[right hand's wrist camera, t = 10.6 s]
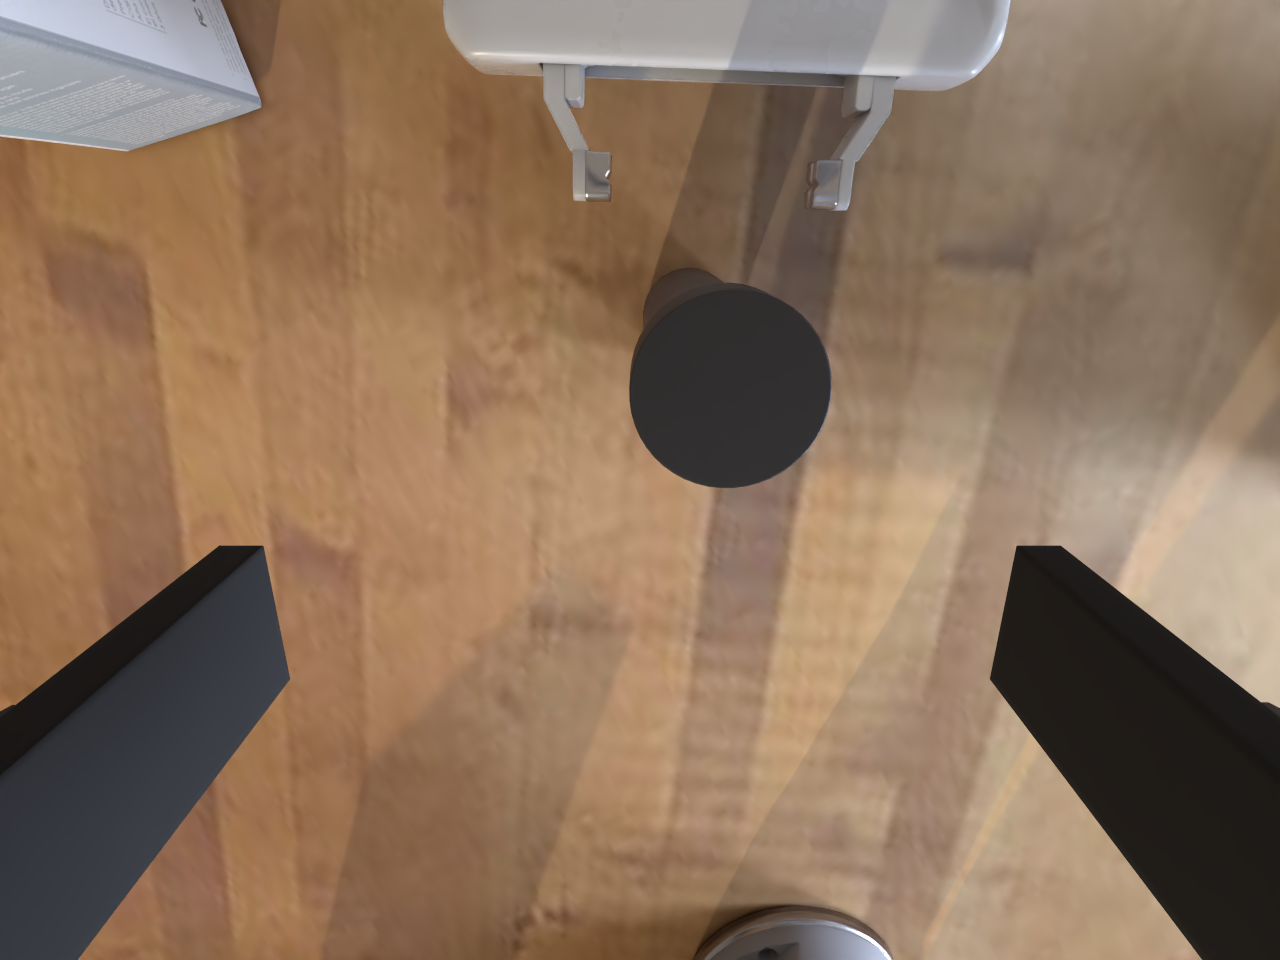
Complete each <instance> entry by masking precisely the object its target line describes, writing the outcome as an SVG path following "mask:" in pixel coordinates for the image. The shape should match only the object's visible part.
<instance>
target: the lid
mask: <svg viewBox="0 0 1280 960" xmlns="http://www.w3.org/2000/svg"><path fill="white" fill-rule="evenodd" d="M629 390H630V407H631V413H632V417H633V420H634V424H635V427H636V429H637V431H638V433H639V436H640V438H641V439H642V441H643V443H644V444H645V446H646V448H647V449H648V450H649V451H650V453H651V454H652V455H653V456H654V457H655V458H656V459H657V460H658V461H659V462H660V463H661V464H662V465H663V466H664V467H666V468H667V469H668V470H670V471H671V472H673V473H674V474H676V475H678V476H680V477H681V478H683V479H686V480H688V481H691V482H693V483H696V484H700V485H704V486H708V487H716V488H737V487H744V486H749V485H753V484H757V483H760V482H762V481H765V480H768V479H770V478H772V477H774V476H776V475H778V474H780V473H781V472H783V471H784V470H786V469H787V468H789V467H790V466H791V465H793V464H794V463H795V462H796V461H797V460H798V459H799V458H801V457H802V456H803V454H804V453H805V452H806V451H807V450H808V449H809V448H810V446H811V445H812V443H813V442H814V440H815V439H816V437H817V436H818V434H819V432H820V430H821V428H822V426H823V424H824V421H825V419H826V416H827V413H828V409H829V405H830V400H831V390H832V380H831V369H830V364H829V359H828V356H827V353H826V350H825V348H824V346H823V344H822V342H821V340H820V338H819V336H818V334H817V333H816V331H815V330H814V328H813V327H812V326H811V324H810V323H809V322H808V321H807V320H806V319H805V318H804V317H803V316H802V315H801V314H800V313H799V312H797V311H796V310H795V309H794V308H793V307H791V306H789V305H788V304H786V303H784V302H783V301H781V300H779V299H778V298H776V297H774V296H772V295H770V294H768V293H766V292H764V291H762V290H759V289H757V288H754V287H751V286H747V285H743V284H736V283H715V284H708V285H703V286H700V287H696V288H693V289H691V290H688V291H686V292H684V293H682V294H680V295H678V296H677V297H675V298H673V299H672V300H670V301H669V302H668V303H667V304H665V305H664V306H663V307H662V308H661V309H660V310H659V311H658V312H657V313H656V314H655V315H654V316H653V317H652V318H651V320H650V321H649V322H648V324H647V325H646V326H645V328H644V330H643V332H642V333H641V335H640V337H639V339H638V342H637V344H636V347H635V350H634V354H633V358H632V363H631V371H630V387H629Z"/></svg>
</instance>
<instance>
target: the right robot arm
mask: <svg viewBox="0 0 1280 960" xmlns="http://www.w3.org/2000/svg"><path fill="white" fill-rule="evenodd" d="M289 680H290V676H289V671H288V666H287V661H286V656H285V651H284V646H283V641H282V636H281V631H280V626H279V622H278V617H277V612H276V607H275V602H274V597H273V592H272V587H271V582H270V577H269V572H268V567H267V562H266V557H265V552H264V547H263V546H218V547H217V548H216V549H215V550H213V551H212V552H211V553H209V554H208V555H207V556H206V557H204V558H203V559H202V560H201V561H199V562H198V563H197V564H195V565H194V566H193V567H192V568H190V569H189V570H188V571H186V572H185V573H184V574H183V575H181V576H180V577H179V578H177V579H176V580H175V581H174V582H172V583H171V584H170V585H169V586H167V587H166V588H165V589H163V590H162V591H161V592H160V593H158V594H157V595H156V596H154V597H153V598H152V599H151V600H149V601H148V602H147V603H146V604H144V605H143V606H142V607H140V608H139V609H138V610H137V611H135V612H134V613H133V614H131V615H130V616H129V617H128V618H126V619H125V620H124V621H123V622H121V623H120V624H119V625H117V626H116V627H115V628H114V629H112V630H111V631H110V632H108V633H107V634H106V635H105V636H103V637H102V638H101V639H100V640H98V641H97V642H96V643H94V644H93V645H92V646H91V647H89V648H88V649H87V650H85V651H84V652H83V653H82V654H80V655H79V656H78V657H77V658H75V659H74V660H73V661H71V662H70V663H69V664H68V665H66V666H65V667H64V668H62V669H61V670H60V671H59V672H57V673H56V674H55V675H54V676H52V677H51V678H50V679H48V680H47V681H46V682H45V683H43V684H42V685H41V686H39V687H38V688H37V689H36V690H34V691H33V692H32V693H31V694H29V695H28V696H27V697H25V698H24V699H23V700H22V701H20V702H19V703H18V704H16V705H11V706H10V707H8V708H6V709H4V710H2V711H0V960H78V959H79V957H80V956H81V955H82V953H83V952H84V951H85V949H86V948H87V947H88V945H89V944H90V943H91V941H92V940H93V939H94V937H95V936H96V935H97V934H98V932H99V931H100V930H101V928H102V927H103V926H104V924H105V923H106V922H107V920H108V919H109V918H110V916H111V915H112V914H113V912H114V911H115V910H116V908H117V907H118V906H119V904H120V903H121V902H122V900H123V899H124V898H125V897H126V895H127V894H128V893H129V891H130V890H131V889H132V887H133V886H134V885H135V883H136V882H137V881H138V879H139V878H140V877H141V875H142V874H143V873H144V871H145V870H146V869H147V867H148V866H149V865H150V863H151V862H152V861H153V860H154V858H155V857H156V856H157V854H158V853H159V852H160V850H161V849H162V848H163V846H164V845H165V844H166V842H167V841H168V840H169V838H170V837H171V836H172V834H173V833H174V832H175V830H176V829H177V828H178V826H179V825H180V824H181V823H182V821H183V820H184V819H185V817H186V816H187V815H188V813H189V812H190V811H191V809H192V808H193V807H194V805H195V804H196V803H197V801H198V800H199V799H200V797H201V796H202V795H203V793H204V792H205V791H206V789H207V788H208V787H209V786H210V784H211V783H212V782H213V780H214V779H215V778H216V776H217V775H218V774H219V772H220V771H221V770H222V768H223V767H224V766H225V764H226V763H227V762H228V760H229V759H230V758H231V756H232V755H233V754H234V752H235V751H236V750H237V749H238V747H239V746H240V745H241V743H242V742H243V741H244V739H245V738H246V737H247V735H248V734H249V733H250V731H251V730H252V729H253V727H254V726H255V725H256V723H257V722H258V721H259V719H260V718H261V717H262V715H263V714H264V713H265V711H266V710H267V709H268V708H269V706H270V705H271V704H272V702H273V701H274V700H275V698H276V697H277V696H278V694H279V693H280V692H281V690H282V689H283V688H284V686H285V685H286V684H287V682H288V681H289ZM990 680H991V681H992V682H993V684H994V685H995V686H996V688H997V689H998V690H999V692H1000V693H1001V694H1002V696H1003V697H1004V698H1005V700H1006V701H1007V702H1008V704H1009V705H1010V706H1011V708H1012V709H1013V710H1014V711H1015V713H1016V714H1017V715H1018V717H1019V718H1020V719H1021V721H1022V722H1023V723H1024V725H1025V726H1026V727H1027V729H1028V730H1029V731H1030V733H1031V734H1032V735H1033V737H1034V738H1035V739H1036V741H1037V742H1038V743H1039V745H1040V746H1041V747H1042V749H1043V750H1044V751H1045V752H1046V754H1047V755H1048V756H1049V758H1050V759H1051V760H1052V762H1053V763H1054V764H1055V766H1056V767H1057V768H1058V770H1059V771H1060V772H1061V774H1062V775H1063V776H1064V778H1065V779H1066V780H1067V782H1068V783H1069V784H1070V786H1071V787H1072V788H1073V789H1074V791H1075V792H1076V793H1077V795H1078V796H1079V797H1080V799H1081V800H1082V801H1083V803H1084V804H1085V805H1086V807H1087V808H1088V809H1089V811H1090V812H1091V813H1092V815H1093V816H1094V817H1095V819H1096V820H1097V821H1098V823H1099V824H1100V825H1101V826H1102V828H1103V829H1104V830H1105V832H1106V833H1107V834H1108V836H1109V837H1110V838H1111V840H1112V841H1113V842H1114V844H1115V845H1116V846H1117V848H1118V849H1119V850H1120V852H1121V853H1122V854H1123V856H1124V857H1125V858H1126V860H1127V861H1128V862H1129V863H1130V865H1131V866H1132V867H1133V869H1134V870H1135V871H1136V873H1137V874H1138V875H1139V877H1140V878H1141V879H1142V881H1143V882H1144V883H1145V885H1146V886H1147V887H1148V889H1149V890H1150V891H1151V893H1152V894H1153V895H1154V897H1155V898H1156V899H1157V900H1158V902H1159V903H1160V904H1161V906H1162V907H1163V908H1164V910H1165V911H1166V912H1167V914H1168V915H1169V916H1170V918H1171V919H1172V920H1173V922H1174V923H1175V924H1176V926H1177V927H1178V928H1179V930H1180V931H1181V932H1182V934H1183V935H1184V936H1185V937H1186V939H1187V940H1188V941H1189V943H1190V944H1191V945H1192V947H1193V948H1194V949H1195V951H1196V952H1197V953H1198V955H1199V956H1200V957H1201V959H1202V960H1280V708H1278V707H1276V706H1274V705H1272V704H1271V703H1269V702H1260V701H1258V700H1257V699H1256V698H1255V697H1253V696H1252V695H1251V694H1249V693H1248V692H1247V691H1246V690H1244V689H1243V688H1242V687H1241V686H1239V685H1238V684H1237V683H1235V682H1234V681H1233V680H1232V679H1230V678H1229V677H1228V676H1226V675H1225V674H1224V673H1223V672H1221V671H1220V670H1219V669H1218V668H1216V667H1215V666H1214V665H1212V664H1211V663H1210V662H1209V661H1207V660H1206V659H1205V658H1203V657H1202V656H1201V655H1200V654H1198V653H1197V652H1196V651H1195V650H1193V649H1192V648H1191V647H1189V646H1188V645H1187V644H1186V643H1184V642H1183V641H1182V640H1180V639H1179V638H1178V637H1177V636H1175V635H1174V634H1173V633H1172V632H1170V631H1169V630H1168V629H1166V628H1165V627H1164V626H1163V625H1161V624H1160V623H1159V622H1157V621H1156V620H1155V619H1154V618H1152V617H1151V616H1150V615H1149V614H1147V613H1146V612H1145V611H1143V610H1142V609H1141V608H1140V607H1138V606H1137V605H1136V604H1134V603H1133V602H1132V601H1131V600H1129V599H1128V598H1127V597H1126V596H1124V595H1123V594H1122V593H1120V592H1119V591H1118V590H1117V589H1115V588H1114V587H1113V586H1111V585H1110V584H1109V583H1108V582H1106V581H1105V580H1104V579H1102V578H1101V577H1100V576H1099V575H1097V574H1096V573H1095V572H1094V571H1092V570H1091V569H1090V568H1088V567H1087V566H1086V565H1085V564H1083V563H1082V562H1081V561H1079V560H1078V559H1077V558H1076V557H1074V556H1073V555H1072V554H1071V553H1069V552H1068V551H1067V550H1065V549H1064V548H1063V547H1062V546H1017V547H1016V552H1015V557H1014V562H1013V567H1012V572H1011V577H1010V582H1009V587H1008V592H1007V597H1006V602H1005V607H1004V612H1003V617H1002V622H1001V626H1000V631H999V636H998V641H997V646H996V651H995V656H994V661H993V666H992V671H991V676H990ZM694 960H893V957H892V954H891V952H890V950H889V948H888V947H887V945H886V944H885V942H884V941H883V940H882V939H881V937H880V936H879V935H878V934H877V933H876V932H875V931H873V930H872V929H871V928H870V927H868V926H867V925H866V924H864V923H862V922H861V921H859V920H857V919H855V918H853V917H851V916H848V915H846V914H843V913H840V912H837V911H833V910H829V909H824V908H817V907H805V906H794V907H781V908H774V909H769V910H764V911H760V912H757V913H754V914H751V915H748V916H745V917H743V918H741V919H738V920H736V921H734V922H733V923H731V924H729V925H727V926H726V927H724V928H723V929H721V930H720V931H718V932H717V933H716V934H715V935H713V936H712V937H711V938H710V939H709V940H708V941H707V942H706V943H705V944H704V945H703V947H702V948H701V949H700V951H699V952H698V953H697V955H696V957H695V959H694Z"/></svg>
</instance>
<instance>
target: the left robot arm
mask: <svg viewBox="0 0 1280 960" xmlns="http://www.w3.org/2000/svg"><path fill="white" fill-rule="evenodd" d="M1010 2H1011V0H443V18H444V26H445V30H446V32H447V35H448V37H449V39H450V40H451V42H452V43H453V45H454V46H455V47H456V49H457V50H458V51H459V53H460V54H461V55H462V56H463V57H464V58H465V59H466V61H467V62H469V63H470V64H471V65H472V66H473V67H474V68H476V69H477V70H478V71H480V72H482V73H485V74H497V75H523V76H543V99H544V101H545V103H546V105H547V107H548V109H549V111H550V113H551V115H552V117H553V119H554V121H555V123H556V124H557V126H558V128H559V130H560V132H561V134H562V136H563V138H564V140H565V142H566V144H567V146H568V148H569V150H570V151H571V152H572V153H573V199H574V201H588V202H611V189H612V186H611V184H610V182H609V181H608V179H609V177H610V176H611V174H612V155H611V153H610V152H596V151H590V149H589V147H588V145H587V143H586V141H585V139H584V137H583V135H582V133H581V131H580V129H579V127H578V124H577V122H576V120H575V118H574V116H573V114H572V112H571V110H570V105H571V106H572V108H582V107H583V106H584V95H585V78H603V79H629V80H656V81H682V82H709V83H735V84H762V85H788V86H814V87H841V88H844V90H843V100H842V110H841V116H842V117H843V118H854V117H855V120H854V122H853V123H852V125H851V127H850V128H849V130H848V131H847V133H846V134H845V136H844V138H843V139H842V141H841V142H840V144H839V145H838V147H837V149H836V150H835V152H834V153H833V155H832V156H831V158H830V160H817V161H814V162H811V163H809V164H808V167H807V176H806V182H807V184H808V186H809V188H808V189H807V191H806V192H805V196H804V208H805V209H810V210H830V211H843V210H847V208H848V206H849V202H850V198H851V190H852V182H853V174H854V166H855V161H858V160H859V159H860V157H861V156H862V155H863V153H864V152H865V150H866V149H867V147H868V146H869V144H870V143H871V141H872V140H873V138H874V137H875V135H876V134H877V132H878V131H879V130H880V128H881V127H882V125H883V124H884V122H885V121H886V119H887V118H888V116H889V115H890V113H891V109H892V102H893V95H894V90H920V91H943V90H947V89H950V88H953V87H955V86H958V85H960V84H962V83H964V82H966V81H968V80H970V79H972V78H974V77H975V76H976V75H977V74H978V73H979V72H980V71H981V70H982V69H983V68H984V67H985V66H986V65H987V64H988V63H989V61H990V60H991V59H992V58H993V57H994V55H995V54H996V53H997V51H998V50H999V48H1000V46H1001V44H1002V41H1003V38H1004V34H1005V29H1006V25H1007V20H1008V14H1009V8H1010Z"/></svg>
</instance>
